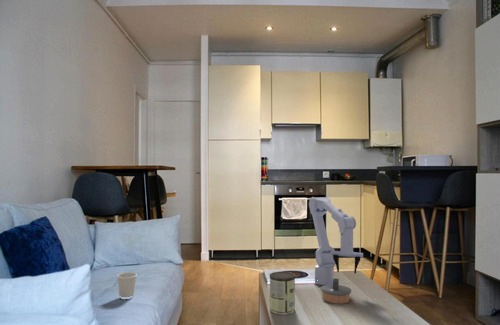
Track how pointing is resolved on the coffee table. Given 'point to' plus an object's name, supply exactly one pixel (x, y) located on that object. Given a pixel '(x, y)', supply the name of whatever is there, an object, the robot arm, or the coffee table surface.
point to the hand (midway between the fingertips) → (346, 272)
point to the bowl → (335, 298)
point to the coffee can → (282, 293)
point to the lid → (335, 288)
